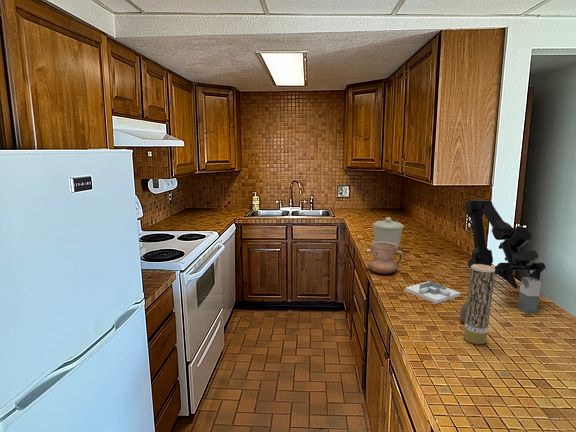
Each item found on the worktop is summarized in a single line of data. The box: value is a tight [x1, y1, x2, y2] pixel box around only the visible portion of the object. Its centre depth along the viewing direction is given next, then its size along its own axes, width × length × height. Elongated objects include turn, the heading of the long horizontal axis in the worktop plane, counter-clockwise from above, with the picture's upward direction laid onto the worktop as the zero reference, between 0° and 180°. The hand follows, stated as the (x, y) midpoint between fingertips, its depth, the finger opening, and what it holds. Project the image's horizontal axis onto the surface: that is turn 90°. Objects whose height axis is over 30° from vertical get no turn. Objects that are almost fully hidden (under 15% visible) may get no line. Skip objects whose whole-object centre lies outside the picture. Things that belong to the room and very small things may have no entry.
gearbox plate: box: [404, 280, 462, 305], centre depth 164 cm, size 16×16×4 cm
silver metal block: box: [517, 276, 542, 314], centre depth 147 cm, size 5×5×13 cm
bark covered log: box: [463, 264, 495, 345], centre depth 123 cm, size 7×7×25 cm
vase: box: [459, 301, 467, 324], centre depth 137 cm, size 7×7×9 cm
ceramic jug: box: [366, 241, 404, 275], centre depth 191 cm, size 18×14×14 cm
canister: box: [372, 216, 405, 251], centre depth 228 cm, size 18×18×21 cm
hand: (527, 288), depth 148 cm, fingers open, 9 cm apart
